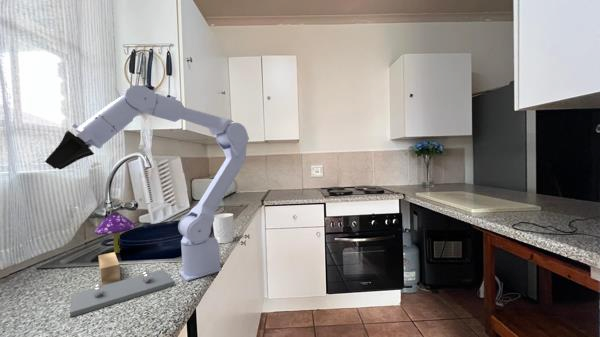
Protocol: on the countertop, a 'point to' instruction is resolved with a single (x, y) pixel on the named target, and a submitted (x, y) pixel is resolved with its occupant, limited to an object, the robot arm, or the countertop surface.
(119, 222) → the decorative mushroom
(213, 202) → the robot arm
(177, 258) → the countertop surface
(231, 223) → the white cup
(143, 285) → the flat gray rectangular plate
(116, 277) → the board
